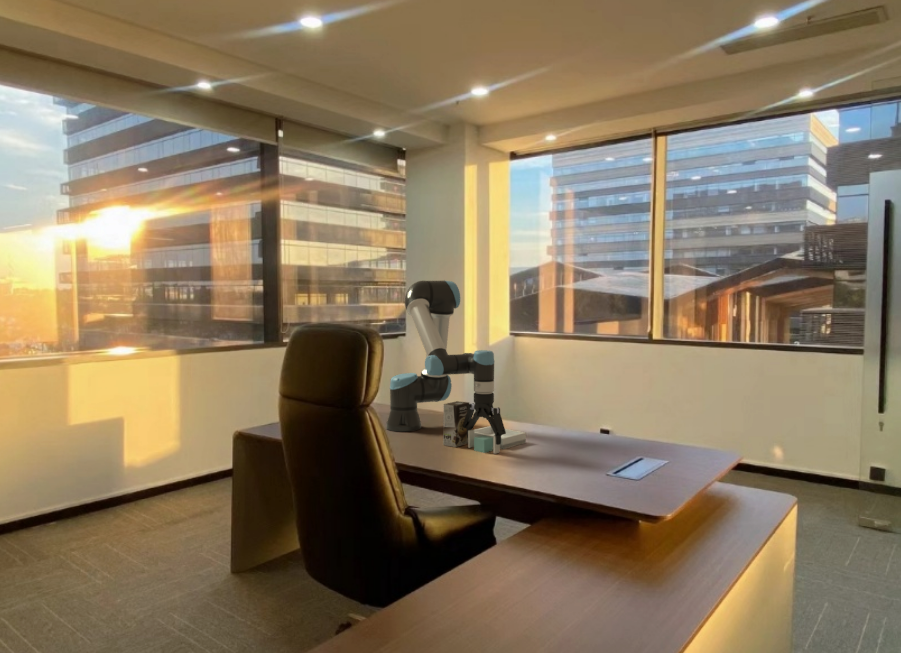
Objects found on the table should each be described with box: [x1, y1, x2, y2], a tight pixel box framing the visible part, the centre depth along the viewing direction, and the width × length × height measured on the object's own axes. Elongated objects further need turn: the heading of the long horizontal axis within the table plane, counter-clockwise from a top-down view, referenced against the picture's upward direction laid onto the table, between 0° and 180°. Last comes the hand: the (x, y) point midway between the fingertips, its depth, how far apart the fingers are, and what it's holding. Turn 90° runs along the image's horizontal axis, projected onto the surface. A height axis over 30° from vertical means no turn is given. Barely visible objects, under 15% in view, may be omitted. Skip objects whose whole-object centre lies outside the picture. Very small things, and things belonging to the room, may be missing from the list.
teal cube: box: [473, 435, 493, 454], centre depth 233 cm, size 5×5×5 cm
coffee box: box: [442, 400, 470, 448], centre depth 243 cm, size 9×6×16 cm
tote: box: [473, 425, 527, 450], centre depth 246 cm, size 18×14×4 cm
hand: (483, 450), depth 233 cm, fingers open, 12 cm apart
